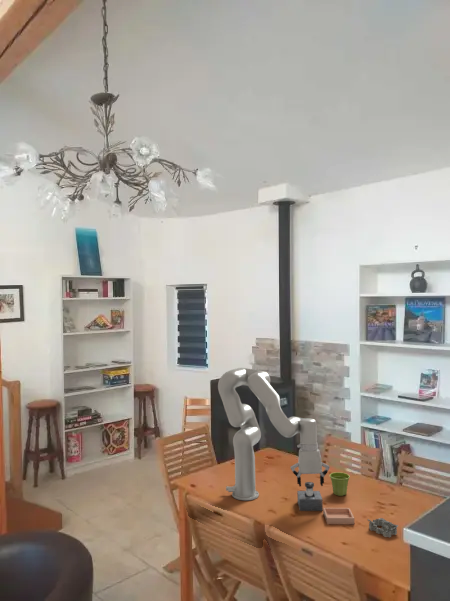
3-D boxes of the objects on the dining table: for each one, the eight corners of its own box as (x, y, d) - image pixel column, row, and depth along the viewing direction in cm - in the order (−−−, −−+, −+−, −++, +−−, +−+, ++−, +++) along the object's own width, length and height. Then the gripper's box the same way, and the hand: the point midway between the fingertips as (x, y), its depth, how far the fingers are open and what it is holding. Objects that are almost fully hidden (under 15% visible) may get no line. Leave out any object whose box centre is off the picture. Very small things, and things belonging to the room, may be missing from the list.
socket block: (299, 510, 218) (299, 499, 218) (297, 501, 228) (297, 490, 228) (322, 510, 218) (322, 499, 218) (319, 501, 228) (319, 490, 228)
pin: (305, 508, 221) (305, 485, 221) (304, 504, 225) (304, 481, 225) (314, 508, 221) (314, 485, 221) (313, 504, 225) (313, 481, 225)
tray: (327, 524, 204) (326, 517, 205) (323, 513, 215) (323, 507, 215) (354, 524, 204) (354, 518, 204) (349, 513, 214) (349, 508, 214)
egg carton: (366, 528, 200) (365, 518, 200) (379, 524, 204) (379, 514, 204) (386, 539, 191) (386, 528, 191) (400, 534, 195) (399, 524, 195)
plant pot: (350, 498, 231) (350, 479, 232) (329, 496, 233) (329, 478, 233) (349, 490, 241) (349, 472, 241) (329, 489, 242) (329, 471, 243)
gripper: (290, 449, 220) (292, 488, 219) (329, 448, 219) (331, 487, 218) (289, 445, 227) (290, 482, 227) (327, 444, 226) (328, 482, 226)
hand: (310, 485), depth 223 cm, fingers open, 9 cm apart
